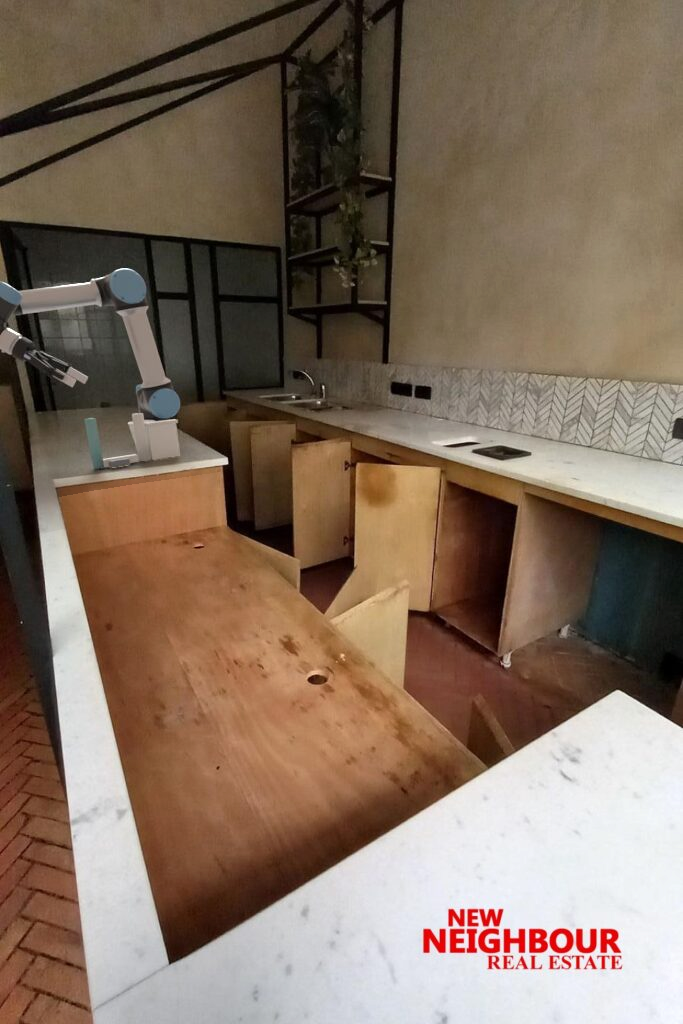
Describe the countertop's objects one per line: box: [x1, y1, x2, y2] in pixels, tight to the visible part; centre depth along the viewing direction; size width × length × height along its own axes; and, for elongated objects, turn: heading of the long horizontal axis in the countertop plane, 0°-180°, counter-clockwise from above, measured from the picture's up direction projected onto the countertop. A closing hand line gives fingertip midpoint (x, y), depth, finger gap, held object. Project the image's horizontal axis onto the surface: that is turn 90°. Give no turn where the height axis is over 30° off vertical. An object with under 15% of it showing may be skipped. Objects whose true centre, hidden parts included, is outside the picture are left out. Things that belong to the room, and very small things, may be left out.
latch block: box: [108, 458, 131, 469], centre depth 165 cm, size 6×2×2 cm, turn 130°
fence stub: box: [145, 418, 181, 460], centre depth 175 cm, size 11×3×13 cm, turn 130°
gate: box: [84, 412, 151, 470], centre depth 165 cm, size 18×4×16 cm, turn 131°
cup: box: [127, 420, 154, 450], centre depth 188 cm, size 10×10×11 cm
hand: (80, 382), depth 171 cm, fingers open, 13 cm apart
